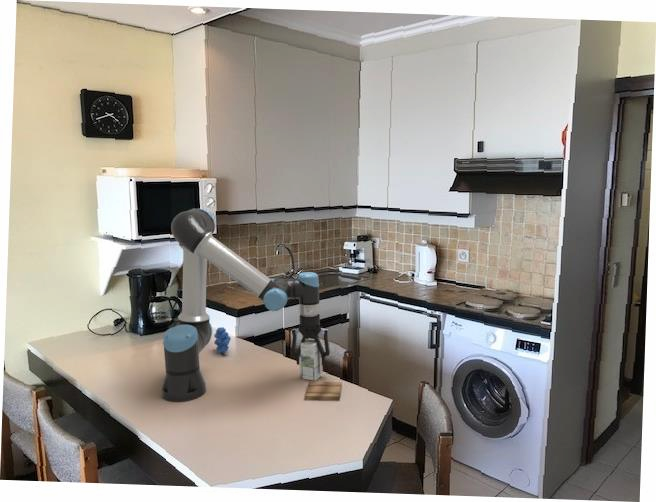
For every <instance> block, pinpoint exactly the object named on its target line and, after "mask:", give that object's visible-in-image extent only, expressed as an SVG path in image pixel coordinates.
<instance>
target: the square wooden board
mask: <svg viewBox="0 0 656 502" xmlns="http://www.w3.org/2000/svg"><path fill="white" fill-rule="evenodd" d="M342 386H343V383H342V381H308V384H307V387H306V390H305V393H304V395H303V396H304V401H329V402H330V401H331V402H332V401H333V402H334V401H337V402H339V401H341V393H342Z"/></svg>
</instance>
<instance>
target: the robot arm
mask: <svg viewBox="0 0 656 502" xmlns="http://www.w3.org/2000/svg"><path fill="white" fill-rule="evenodd" d="M215 229H216V221H215V219H214V216H213V215H212V214H211V213H210V212H209V211H207V210H206V209H203V208H191V209H189V210H186V211H182V212H179V213H178V214H177V215H175V216H174V218H173V220H172V222H171V225H170V230H171V234H172V236H173V237H174V239H175V240H176V241H177V243H178V246H179V247H180V249H182V250H183V253H182V255H183V256H182V295H181V297H182V300H181V301H182V303H181V305H182V307H181V309H182V310H181V313H180V314H179V315H178V316H177V325H175V326H173V327H170V328H169V329H166V331H164V333H163V339H162V340H163V341H162V345H163V352H164V353H163V354H164V363H165V365H164V367H165V375H164V381H163V384H162V388H161V396H162V398H164V399H165V400H167V401H170V402H186V401H191V400H196V399H198V398H200V397H201V396H202V395H204V394H205V393H206V391H207V384H206V381H205V379H204V377H203V374H202V372H201V368H200V366H201V365H200V353H201V352H202V351H203V349H205V347H206V346H207V345H208V344H209V343H210V341H211V338H212V335H213V327H212V324H211V322H210V315H209V314H208V313H207V311H206V310H207V309H206V308H207V278H208V277H207V274H208V272H207V271H208V270H207V269H208V262H209V263H210V264H212V265H213V266H215V267H216V268H217V269H219V270H220V271H222V272H223V273H224V274H225V275H227V276H228V277H230V278H231V279H232V280H234V281H235V282H237V283H238V284H239V285H241V286H242V288H243V287H244V288H245V289H246V290H247V291H249V292H251V293H252V294H253V295H255V296H256V297H257V298H259V299H260V300H261V301H263V304H264V306H265V308H266V309H268V310H269V311H272V312H278V311H281V310H282V309H283V308H284V307H285V306H286V305H287V302H288V301H289V300H296V299H298V300H299V301H298V303H299V304H298V307H299V308H298V310H299V326H298V328H297V327H296V328H295V327H294V328H292V330H291V334H292V341H291V342H292V343H291V356H295V357H296V365H298V366H299V375H302V370H301V343H304V341H305V339H313V340H315V342H316V343H317V347H318V349H319V352H320V374H321V375H323V371H324V369H323V366H325V365H326V357H328V356H330V353H331V351H330V343H329V337H328V333H329V329H328V328H323V327H322V326H321V315H320V310H321V309H320V306H321V305H320V281H319V280H320V279H319V275H318V273H316V272H311V271H305V272H300V273H299V274H298V275H297V276H298V277H297V278H277V277H276V278H270V277H268V276H267V275H265V274H264V273H262V272H261V271H260V270H259V269H257V268H256V267H255V266H253V264H250V263H249V262H248V261H246V260H245V259H244V258H243V257H241V256H240V255H238V254H237V253H235V251H233V250H232V249H230V248H229V247H227V246H226V245H225V244H224V243H222V242H221V241H219V240H218V239H217V238H215V236H213V234H214V232H215ZM299 333H300V334H301V335H302V338H301V340H300V343H299V346H298V349H297V341H298V340H297V339H298V338H297V337H298V334H299ZM319 334H322V335H323V343H324V347H323V345H322V342H321V340H320V337H319ZM296 349H297V351H296Z"/></svg>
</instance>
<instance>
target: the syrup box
mask: <svg viewBox="0 0 656 502" xmlns="http://www.w3.org/2000/svg"><path fill="white" fill-rule="evenodd" d="M300 343H301V342H300ZM300 355H301V370H302V374H301V380H306V381H310V382H317V380H318V379H319V378H321V376H322V374H320V355H321V354H320V352H319V349H318V347H317V343H316V342H315V340H314V339H311V338H309V339H305V341H304V343H301V353H300Z"/></svg>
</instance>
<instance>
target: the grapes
mask: <svg viewBox="0 0 656 502" xmlns="http://www.w3.org/2000/svg"><path fill="white" fill-rule="evenodd" d="M213 337H214V338H215V340H214V343H213V344H215V346H216V350H217V351H218V352H219V353H221V355H222V354H223V355H224V354H225V353H226V352H227V351H228V350H229V345H230V342H231V336H230V335H229V333H228V332H227V330H226V328H225V327H222V326H221V327H217V329H215V333H214V335H213Z"/></svg>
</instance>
